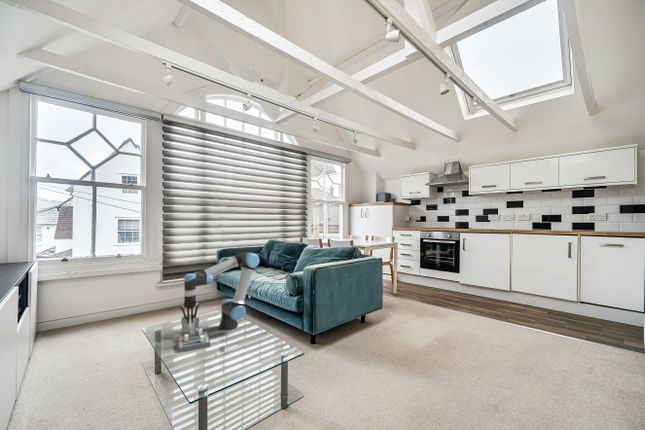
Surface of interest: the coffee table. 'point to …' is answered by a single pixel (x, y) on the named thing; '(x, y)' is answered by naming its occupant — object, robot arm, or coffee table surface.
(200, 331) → the handle
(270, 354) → the coffee table surface
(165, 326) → the coffee table surface
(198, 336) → the breaker board
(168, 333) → the coffee table surface
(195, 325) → the circuit breaker
